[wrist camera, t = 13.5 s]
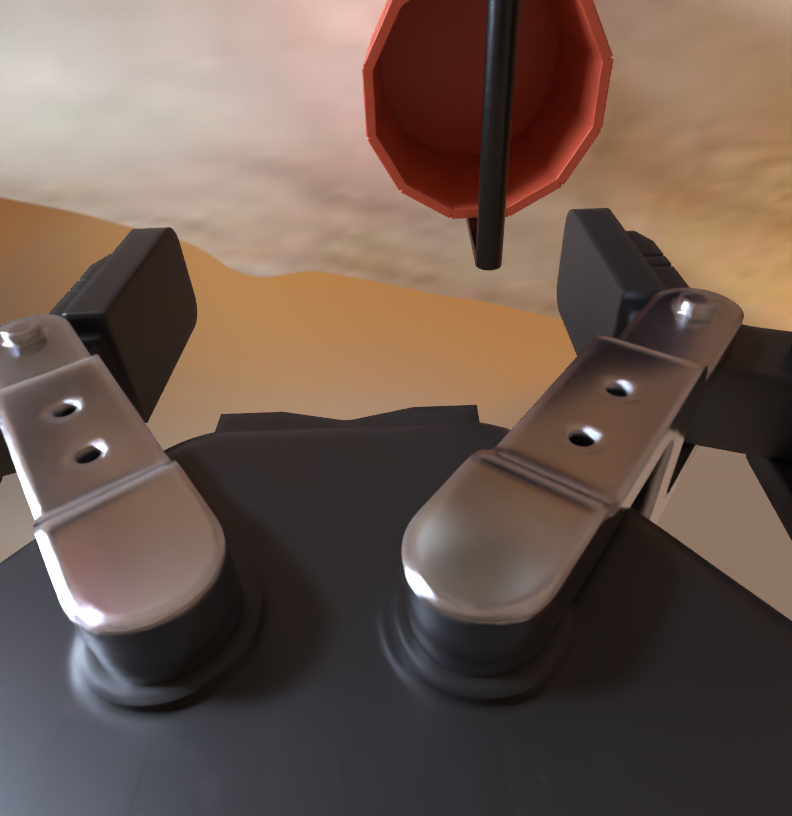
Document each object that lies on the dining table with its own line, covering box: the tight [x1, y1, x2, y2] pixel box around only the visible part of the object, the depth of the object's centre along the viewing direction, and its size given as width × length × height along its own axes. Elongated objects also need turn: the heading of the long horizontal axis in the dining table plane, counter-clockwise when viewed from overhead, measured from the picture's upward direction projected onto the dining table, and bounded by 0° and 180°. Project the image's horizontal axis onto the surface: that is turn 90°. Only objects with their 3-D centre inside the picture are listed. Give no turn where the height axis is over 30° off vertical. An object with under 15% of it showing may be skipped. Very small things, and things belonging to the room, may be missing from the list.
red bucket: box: [362, 0, 613, 270], centre depth 30 cm, size 11×12×15 cm
